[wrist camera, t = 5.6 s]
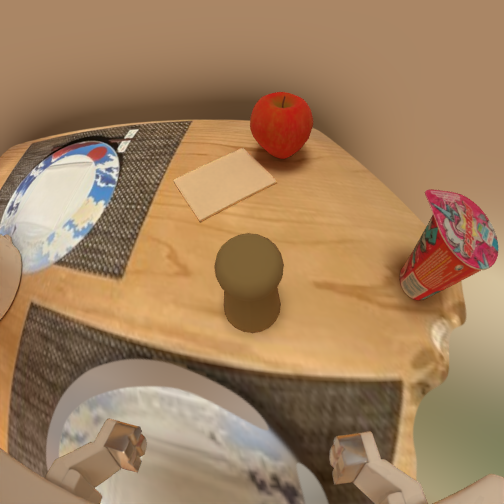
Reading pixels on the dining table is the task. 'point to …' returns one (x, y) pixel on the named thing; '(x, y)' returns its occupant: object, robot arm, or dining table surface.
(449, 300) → the dining table surface
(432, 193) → the cup
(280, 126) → the apple
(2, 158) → the dining table surface
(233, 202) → the napkin
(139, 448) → the robot arm
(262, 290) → the pepper shaker
